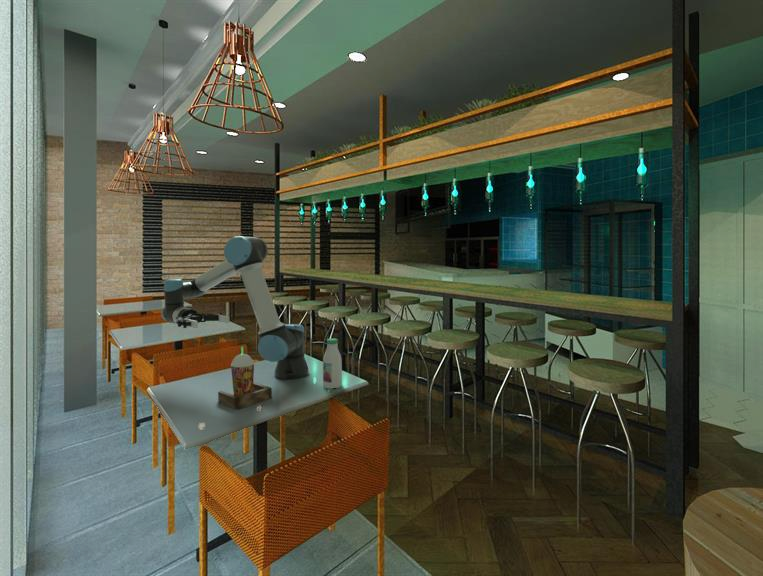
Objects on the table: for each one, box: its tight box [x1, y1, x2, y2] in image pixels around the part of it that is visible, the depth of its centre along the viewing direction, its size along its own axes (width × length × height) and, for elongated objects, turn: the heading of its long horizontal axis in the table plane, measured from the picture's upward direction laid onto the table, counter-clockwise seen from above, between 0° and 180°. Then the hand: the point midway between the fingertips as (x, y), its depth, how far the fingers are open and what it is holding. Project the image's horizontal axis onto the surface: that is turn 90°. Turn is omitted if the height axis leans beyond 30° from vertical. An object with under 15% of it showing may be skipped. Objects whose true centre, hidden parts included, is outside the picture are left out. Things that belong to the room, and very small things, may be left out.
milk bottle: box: [322, 337, 343, 390], centre depth 171 cm, size 8×8×20 cm
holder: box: [217, 381, 273, 411], centre depth 155 cm, size 15×12×4 cm
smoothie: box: [230, 346, 255, 397], centre depth 155 cm, size 8×8×20 cm
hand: (213, 322), depth 163 cm, fingers open, 13 cm apart
